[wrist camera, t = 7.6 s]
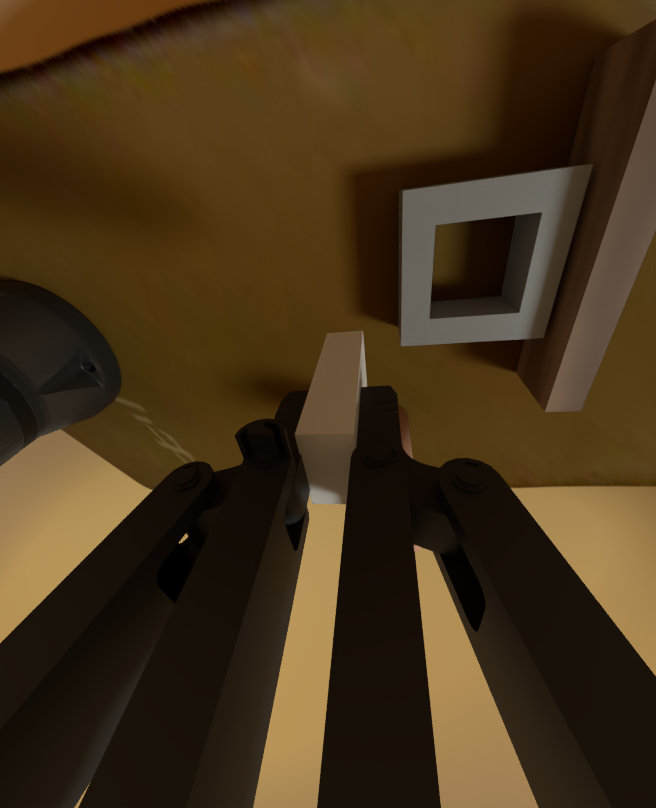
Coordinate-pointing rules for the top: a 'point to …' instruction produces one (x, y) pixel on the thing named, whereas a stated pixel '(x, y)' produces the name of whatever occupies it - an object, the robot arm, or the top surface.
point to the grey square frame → (527, 262)
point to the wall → (601, 223)
